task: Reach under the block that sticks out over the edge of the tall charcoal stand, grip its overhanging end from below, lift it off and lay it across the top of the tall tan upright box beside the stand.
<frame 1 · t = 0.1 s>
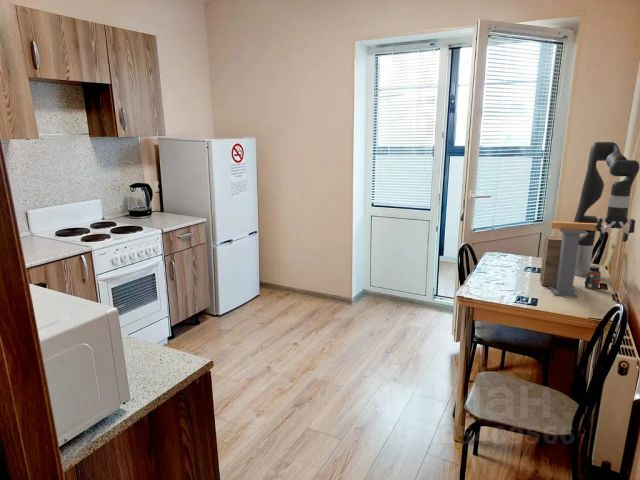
hand: (612, 241, 193), 29 cm above the table, tool pointing down, fingers open, 8 cm apart
block: (576, 229, 203), point 32 cm above the table, touching tall stand
tall stand: (563, 292, 212), on the table
tan upright box: (553, 284, 224), on the table
supplement bottle: (591, 288, 218), on the table
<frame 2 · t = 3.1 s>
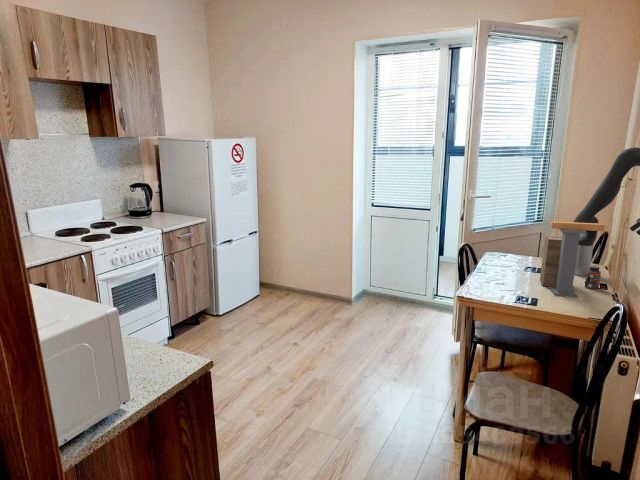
hand: (634, 231, 196), 33 cm above the table, tool tilted 45°, fingers open, 8 cm apart
nothing on the table moved.
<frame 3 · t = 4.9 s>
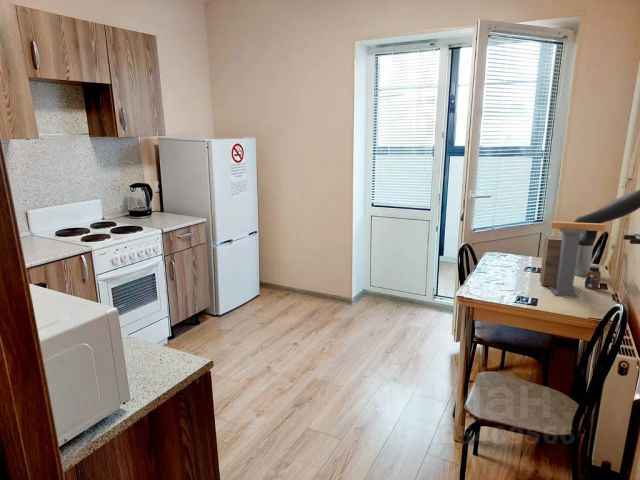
hand: (626, 239, 198), 29 cm above the table, tool horizontal, fingers open, 8 cm apart
nothing on the table moved.
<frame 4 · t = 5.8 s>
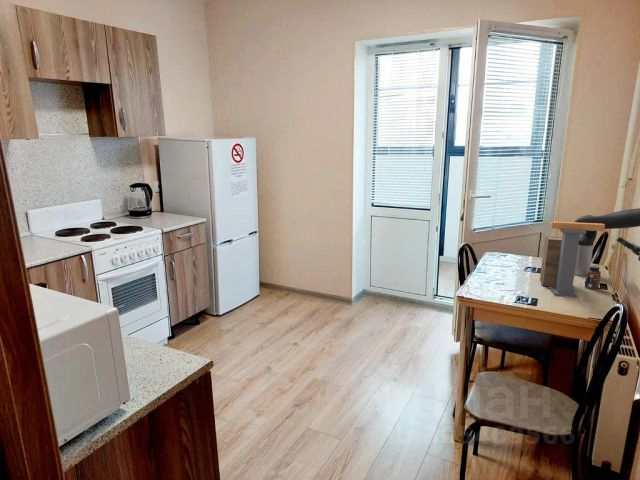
hand: (620, 240, 199), 28 cm above the table, tool pointing upward, fingers open, 8 cm apart
nothing on the table moved.
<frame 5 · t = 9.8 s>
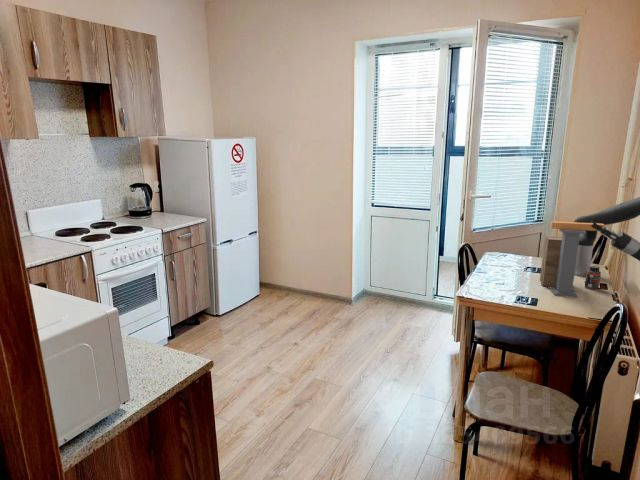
hand: (591, 223, 201), 35 cm above the table, tool pointing upward, fingers closed on block, 3 cm apart
block: (576, 229, 203), point 33 cm above the table, touching gripper, tall stand
everything else where it was.
when the fingers open (30 cm above the table, at t = 17.6 s): block drops 2 cm, resting on tan upright box.
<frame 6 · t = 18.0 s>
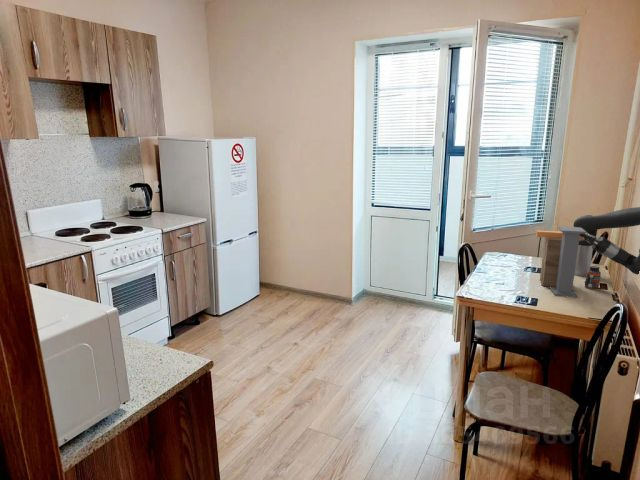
hand: (575, 229, 215), 30 cm above the table, tool pointing upward, fingers open, 6 cm apart
block: (559, 237, 218), point 25 cm above the table, touching tan upright box
everything else where it was.
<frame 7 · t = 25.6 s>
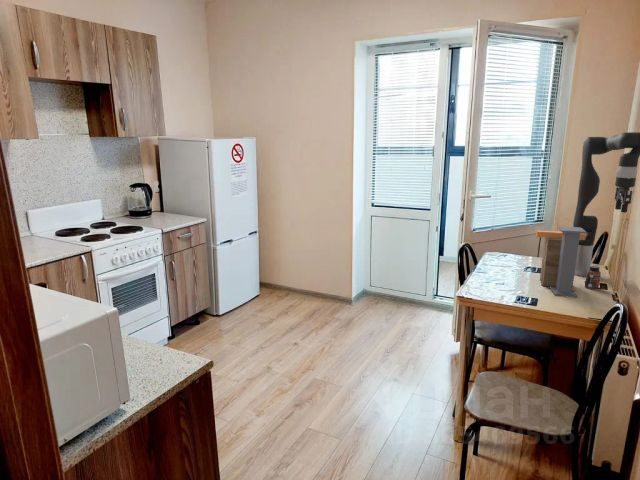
hand: (620, 210, 202), 41 cm above the table, tool pointing down, fingers open, 8 cm apart
nothing on the table moved.
at the end: block inside the target area (0.1 cm from its centre), point 25.0 cm above the table; block touching tan upright box; the gripper is holding nothing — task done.
